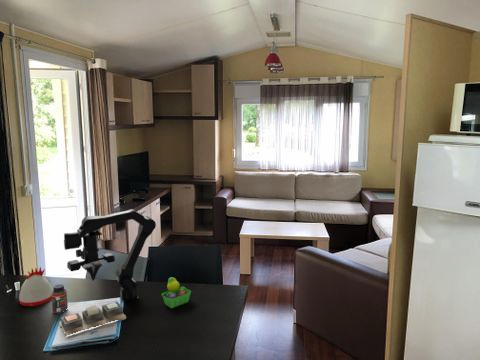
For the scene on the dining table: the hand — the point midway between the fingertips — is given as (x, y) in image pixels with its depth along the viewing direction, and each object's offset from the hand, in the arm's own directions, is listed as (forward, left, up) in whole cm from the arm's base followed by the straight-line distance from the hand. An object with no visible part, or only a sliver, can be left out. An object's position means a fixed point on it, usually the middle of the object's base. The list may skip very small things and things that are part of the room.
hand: (92, 280), depth 166 cm
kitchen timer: (+19, -24, -12) cm, 33 cm away
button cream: (+4, +13, -9) cm, 17 cm away
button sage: (-4, +13, -10) cm, 17 cm away
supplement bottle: (+13, -5, -12) cm, 18 cm away
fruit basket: (-30, +19, -12) cm, 38 cm away
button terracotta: (+12, +13, -10) cm, 21 cm away
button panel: (+4, +13, -12) cm, 18 cm away
